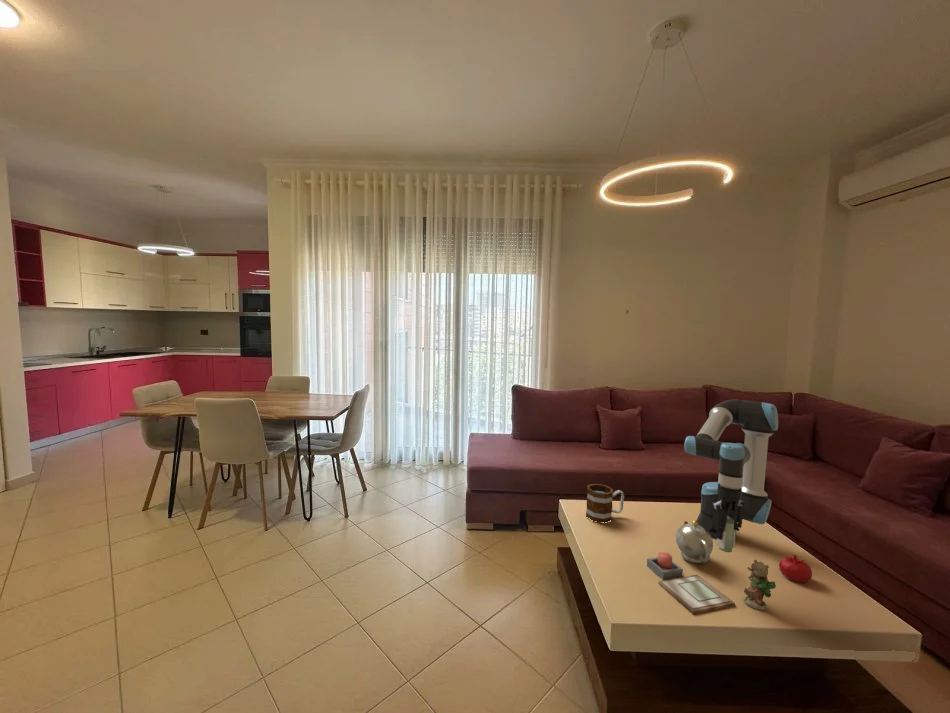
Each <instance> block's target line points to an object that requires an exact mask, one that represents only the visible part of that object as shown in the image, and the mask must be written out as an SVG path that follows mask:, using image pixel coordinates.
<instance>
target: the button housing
mask: <svg viewBox="0 0 950 713" xmlns="http://www.w3.org/2000/svg"><path fill="white" fill-rule="evenodd" d="M646 567H647V568H648V569H650V570H651V571H652V572H654V573H655V575H657V577H658V578H660V579H661V580H662V581H663V580H669V579H671V578H672V579H675V578H677V577H678V578H680V577H684V576H683V574H684V573H683V572H684V571H683V570H684V569H683V568H682V567H681V566H679V565H678V564H677V563H675V562H674V561H673V560H672V568H671V569H669V570H667V569H663V568H661V567H659V566H658V556H657V557H650V558H647V560H646Z"/></svg>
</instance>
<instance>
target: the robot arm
mask: <svg viewBox="0 0 950 713" xmlns="http://www.w3.org/2000/svg"><path fill="white" fill-rule="evenodd" d="M731 424H732V425H733V424H734V425H740V426H741V430H742V431H743V432H744V443H740V442H736V443H734V442H724V441H718V440H719V438H720V437H721V436H722V433H723V432H724V430H725V429H726V427H728V426H730V425H731ZM778 429H779V414H778V409H777V407H776V405H775V404H773V403H768V402H763V401H762V402H761V401H752V400H744V399H728V400H724V401H721V402H720V403H718V404H716V405H714V406H713V407H711V409H710V411H709V413H708V418H707V420H706V421H705V422H704V423H703V425H702V426H701V428H700V430H699V431H698V433H697V434H696V436H694V435H687V436H686V438H685V440H684V445H683V447H684V451H685V453H687V454H689V455H693V456H695V457H701V458H705V459H711V460H715V461H719V463H718V464H719V465H718V480H717V481H709V482H705V483H704V484H702V487H701V492H700V495H701V496H700V512H699V514H698V516H697V519H696V520H695V521H697V523H698V525H699V526H701V527H703V528H704V529H705V530H706V531H707V532H708V533H709V534H710V536H711V538H712V539H713V538H714V539H716V546H717V547H720V548H722V549H725V539H726V532H725V531H724V529H725V525H726V521H727V516H729V517H731V518H733V519H734V529H733V544H732V549H734V548H736V546H735V545H736V536H737V532H740V530H741V528H742V524H743V520H744V521H747V522H750V523H755V524H758V525H764V524H766V522H767V520H768V517H769V515H770V512H771V508H772V507H771V506H772V500H771V499H769V497H768V496H769V495H768V492H766V491H765V482H766V468H767V461H768V460H767V458H768V448H769V439H770V438H769V437H771V436H772V435H774V431H778ZM720 548H719V549H720Z"/></svg>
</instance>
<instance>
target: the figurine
mask: <svg viewBox="0 0 950 713" xmlns="http://www.w3.org/2000/svg"><path fill="white" fill-rule="evenodd" d="M750 565H751V566H750V567H749V566H747V568H746V569H747V570H748V571H750V572H751V573H750V575H749V576H747V578H748V580H749V581H750V582H749V583H750V586H748V587H744V589H743V593H744V594H745V595H746V596H745V597H744V598H743V601H744V603H745V604H746V605H747V606H748V607H749V608H752V609H755V610H758V611H759V610H760V611H766V610H768V607H767V604H766V602H765V601H763V599H764V597H766V598H768V599H769V598H770V597H771V596H772V591H771V590H773V589H774V590H775V588H776V581H773V580H772V581H769V579H768V578H769V577H768V575H769V568H770V566H769V565H768V564H765V563H763V561H761V560H759V561H758V560H757V559H753V563H751V564H750Z"/></svg>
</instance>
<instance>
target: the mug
mask: <svg viewBox="0 0 950 713" xmlns="http://www.w3.org/2000/svg"><path fill="white" fill-rule="evenodd" d="M586 490H587V495H586V497H587V498H586V511H585V512H586V513H585V518H586V517H588V518H590V519H591V520H593V521H597V522H604V523H605V522H608V521H610V520H612V519H613V518H612V514H613V513H615V514H620V513H622V512H623V509H624V502H625V500H624V499H625V494H624V492H623V491H622V490H620V489H618V490H615V491H614V488H612V487H610V486H609V485H606V484H599V483H591V484H588V485H587V486H586ZM618 494H620V502H619V503H620V505H619V509H617V510H615V509H613V498H614V497H616V496H617V495H618ZM588 518H587V519H588ZM591 520H590V521H591ZM612 521H613V520H612ZM605 524H606V523H605Z"/></svg>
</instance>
